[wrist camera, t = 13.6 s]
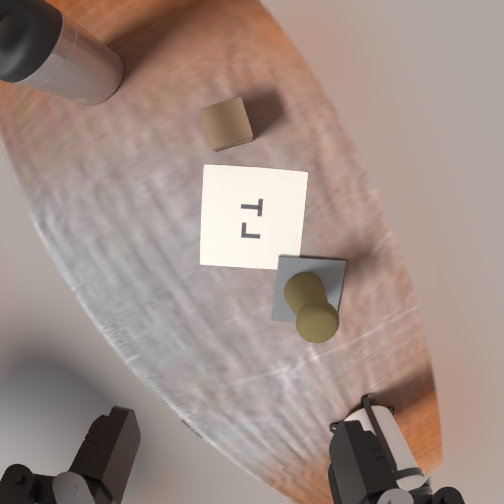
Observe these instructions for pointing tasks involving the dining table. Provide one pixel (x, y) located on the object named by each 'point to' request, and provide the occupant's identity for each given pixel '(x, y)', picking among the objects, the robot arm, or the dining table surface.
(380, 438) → the coffee press
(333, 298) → the slate coaster
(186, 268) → the dining table surface
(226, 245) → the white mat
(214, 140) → the walnut block
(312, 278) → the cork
